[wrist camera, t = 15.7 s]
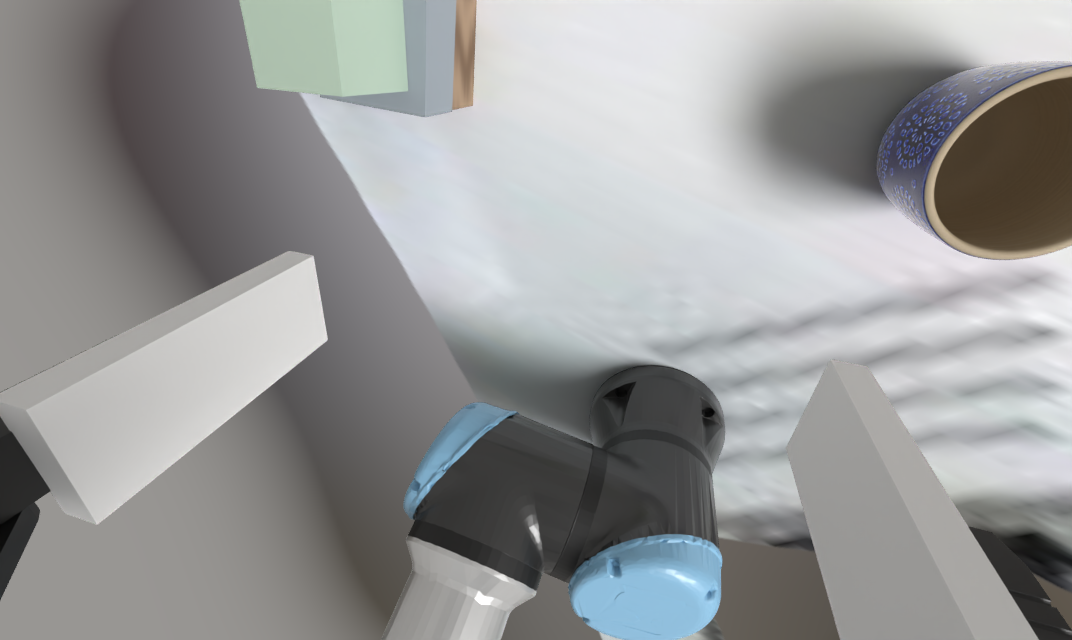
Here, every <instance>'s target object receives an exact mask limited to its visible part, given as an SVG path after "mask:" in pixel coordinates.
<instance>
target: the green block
mask: <svg viewBox="0 0 1072 640" xmlns="http://www.w3.org/2000/svg"><path fill="white" fill-rule="evenodd" d="M239 1H240V5H241V11H242V15H243V20H244V26H245V30H246V35H247V40H248V45H249V50H250V54H251V60H252V64H253V70H254V75H255V79H256V83H257V88H264V89H274V90H283V91H292V92H302V93H312V94H321V95H331V96H340V97H345V96H357V95H369V94H381V93H393V92H405V91H408V78H407V61H406V45H405V28H404V12H403V0H239Z"/></svg>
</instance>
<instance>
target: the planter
mask: <svg viewBox="0 0 1072 640" xmlns="http://www.w3.org/2000/svg"><path fill="white" fill-rule="evenodd" d="M877 175H878V180H879V183H880V185H881V188H882V190H883V192H884V194H885V195H886V197H887V198H888V199H889V201H890V202H891V203H892V204H893V205H894V206H895V207H896V208H897V209H898V210H899V211H900V212H901V213H902V214H903V215H904V216H905V217H907V218H908V219H909V220H911V221H912V222H913V223H915V224H916V225H917V226H918V227H920V228H921V229H923V230H924V231H925V232H927V233H928V234H930V235H931V236H933V237H935V238H936V239H938V240H939V241H941V242H942V243H944V244H946V245H948V246H949V247H951V248H953V249H955V250H957V251H959V252H962V253H964V254H967V255H970V256H974V257H978V258H984V259H993V260H1015V259H1024V258H1031V257H1036V256H1041V255H1045V254H1048V253H1052V252H1055V251H1058V250H1061V249H1064V248H1066V247H1069V246H1072V62H1068V61H1041V62H1015V63H1005V64H996V65H990V66H984V67H978V68H974V69H970V70H966V71H963V72H960V73H957V74H955V75H952V76H950V77H948V78H945V79H943V80H941V81H939V82H937V83H935V84H933V85H932V86H930V87H928V88H927V89H925V90H924V91H922V92H921V93H920V94H918V95H917V96H916V97H914V98H913V99H912V100H911V101H910V102H909V103H908V104H907V105H906V106H905V107H904V108H903V109H902V110H901V111H900V112H899V113H898V114H897V115H896V117H895V118H894V119H893V121H892V122H891V124H890V125H889V127H888V128H887V130H886V132H885V134H884V136H883V138H882V141H881V143H880V146H879V150H878V155H877Z"/></svg>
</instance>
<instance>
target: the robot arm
mask: <svg viewBox="0 0 1072 640" xmlns="http://www.w3.org/2000/svg"><path fill="white" fill-rule="evenodd" d="M327 340H328V339H327V333H326V327H325V321H324V315H323V309H322V303H321V297H320V292H319V286H318V280H317V274H316V268H315V262H314V257H313V256H312V255H307V254H302V253H297V252H292V251H288V252H286V253H284V254H282V255H280V256H278V257H276V258H274V259H272V260H269V261H267V262H265V263H263V264H261V265H259V266H257V267H255V268H253V269H251V270H250V271H247V272H245V273H243V274H241V275H239V276H237V277H235V278H233V279H231V280H229V281H227V282H225V283H223V284H221V285H219V286H217V287H215V288H213V289H210V290H208V291H206V292H204V293H202V294H200V295H198V296H196V297H194V298H192V299H190V300H188V301H186V302H184V303H182V304H180V305H178V306H176V307H174V308H172V309H170V310H168V311H166V312H164V313H162V314H159V315H157V316H156V317H153V318H151V319H149V320H147V321H145V322H143V323H141V324H139V325H137V326H135V327H133V328H131V329H129V330H127V331H125V332H123V333H121V334H118V335H116V336H114V337H112V338H110V339H108V340H106V341H104V342H102V343H100V344H98V345H96V346H94V347H92V348H90V349H88V350H85V351H83V352H81V353H79V354H77V355H75V356H74V357H71V358H70V359H68V360H66V361H63V362H61V363H59V364H57V365H55V366H53V367H51V368H49V369H47V370H45V371H43V372H41V373H39V374H37V375H34V376H33V377H31V378H28V379H27V380H24V381H22V382H20V383H18V384H16V385H14V386H12V387H10V388H8V389H6V390H4V391H2V392H0V600H1V597H2V595H3V593H4V591H5V589H6V587H7V585H8V583H9V580H10V579H11V576H12V574H13V572H14V570H15V568H16V566H17V564H18V562H19V559H20V557H21V555H22V553H23V551H24V549H25V547H26V545H27V543H28V541H29V539H30V536H31V534H32V532H33V530H34V528H35V526H36V523H37V522H38V519H39V513H40V510H39V508H38V507H37V505H36V504H35V501H37V500H38V499H39V498H41V497H42V496H44V495H45V494H47V493H48V492H51V493H52V495H53V496H54V498H55V499H56V501H57V503H58V504H59V506H60V507H61V509H62V510H63V512H64V513H65V514H68V515H71V516H74V517H77V518H80V519H83V520H85V521H88V522H91V523H94V524H97V525H98V524H99V523H100V522H101V521H103V520H104V519H105V518H106V517H108V516H109V515H110V514H111V513H113V512H114V511H115V510H116V509H118V508H119V507H120V506H121V505H122V504H124V503H125V502H126V501H128V500H129V499H130V498H131V497H133V496H134V495H135V494H136V493H137V492H139V491H140V490H141V489H142V488H144V487H145V486H146V485H148V484H149V483H150V482H151V481H152V480H154V479H155V478H156V477H157V476H158V475H160V474H161V473H162V472H164V471H165V470H166V469H167V468H169V467H170V466H171V465H172V464H174V463H175V462H176V461H177V460H179V459H180V458H181V457H182V456H184V455H185V454H186V453H187V452H189V451H190V450H191V449H192V448H194V447H195V446H196V445H197V444H199V443H200V442H201V441H202V440H204V439H205V438H206V437H207V436H209V435H210V434H211V433H212V432H214V431H215V430H216V429H217V428H219V427H220V426H221V425H222V424H224V423H225V422H226V421H227V420H229V419H230V418H231V417H232V416H234V415H235V414H236V413H237V412H238V411H240V410H241V409H242V408H244V407H245V406H246V405H247V404H249V403H250V402H251V401H252V400H253V399H255V398H256V397H257V396H259V395H260V394H261V393H262V392H263V391H265V390H266V389H267V388H269V387H270V386H271V385H272V384H274V383H275V382H276V381H277V380H279V378H281V377H282V376H284V375H285V374H286V373H287V372H289V371H290V370H291V369H292V368H293V367H295V366H296V365H297V364H299V363H300V362H301V361H302V360H304V359H305V358H306V357H307V356H308V355H310V354H311V353H312V352H314V351H315V350H316V349H317V348H318V347H320V346H321V345H322V344H323V343H324V342H326V341H327ZM590 432H591V436H592V441H593V444H590V443H588V442H585V441H583V440H580V439H578V438H575V437H573V436H570V435H568V434H565V433H563V432H560V431H558V430H555V429H553V428H550V427H548V426H545V425H543V424H540V423H538V422H535V421H533V420H531V419H528V418H526V417H523V416H521V415H519V413H518V412H516V411H508V410H504V409H501V408H498V407H495V406H492V405H489V404H487V403H483V402H476V403H471V404H469V405H467V406H465V407H464V408H462V409H461V410H460V411H458V412H457V413H456V414H455V415H454V416H453V417H452V418H451V419H450V421H449V422H448V423H447V424H446V425H445V427H444V428H443V429H442V431H441V432H440V433H439V435H438V436H437V437H436V439H435V440H434V442H433V443H432V445H431V446H430V448H429V449H428V451H427V453H426V454H425V456H424V458H423V459H422V461H421V463H420V465H419V467H418V468H417V471H416V473H415V475H414V477H415V478H414V479H413V481H412V483H411V485H410V486H409V488H408V490H407V493H406V495H405V499H404V505H403V506H404V510H405V512H406V513H407V514H408V516H409V518H410V519H413V520H415V522H414V524H413V526H412V528H411V530H410V532H409V534H408V536H407V539H406V542H407V545H408V549H409V552H410V556H411V559H412V572H411V574H410V576H409V579H408V581H407V583H406V585H405V587H404V589H403V592H402V594H401V596H400V598H399V601H398V603H397V605H396V607H395V609H394V612H393V614H392V616H391V618H390V621H389V623H388V625H387V627H386V629H385V632H384V634H383V636H382V638H381V640H501V637H502V634H503V631H504V628H505V625H506V622H507V619H508V616H509V613H510V612H511V611H512V610H513V609H514V608H515V607H516V606H518V605H520V604H522V603H523V602H525V601H527V600H529V599H530V598H532V597H534V596H535V594H536V592H537V588H538V585H539V582H540V579H541V576H542V574H543V573H545V574H548V575H550V576H553V577H555V578H558V579H560V580H562V581H564V582H566V583H569V586H568V588H569V595H570V602H571V605H572V607H573V610H574V611H575V613H576V614H577V615H578V616H579V617H582V618H583V621H585V623H586V624H587V625H589V626H590V627H592V628H593V629H595V630H597V631H599V632H601V633H604V634H606V635H609V636H612V637H615V638H619V639H623V640H677V639H680V638H684V637H687V636H689V635H692V634H694V633H696V632H698V631H699V630H701V629H702V628H703V627H705V626H706V625H707V624H708V623H709V622H710V621H711V620H712V619H713V617H714V616H715V614H716V612H717V610H718V607H719V604H720V599H721V568H722V556H721V553H720V551H719V541H718V531H717V521H716V510H715V500H714V490H713V480H712V473H713V471H714V468H715V466H716V463H717V460H718V458H719V455H720V453H721V450H722V447H723V445H724V440H725V424H724V416H723V411H722V408H721V405H720V403H719V401H718V399H717V398H716V396H715V395H714V394H713V392H712V391H711V390H710V389H709V388H708V387H707V386H706V385H705V384H703V383H702V382H701V381H699V380H698V379H696V378H695V377H693V376H691V375H689V374H687V373H685V372H682V371H679V370H676V369H672V368H667V367H661V366H642V367H636V368H631V369H628V370H625V371H622V372H620V373H618V374H616V375H614V376H613V377H611V378H610V379H608V380H607V381H606V382H605V383H604V384H603V385H602V386H601V387H600V389H599V390H598V392H597V393H596V395H595V397H594V400H593V404H592V408H591V413H590ZM786 450H787V453H788V457H789V461H790V464H791V468H792V471H793V475H794V478H795V482H796V485H797V489H798V492H799V496H800V499H801V503H802V506H803V510H804V513H805V517H806V520H807V524H808V528H809V531H810V535H811V538H812V542H813V545H814V549H815V552H816V556H817V559H818V563H819V566H820V570H821V573H822V576H823V580H824V584H825V587H826V591H827V594H828V598H829V601H830V605H831V609H832V612H833V616H834V619H835V623H836V626H837V629H838V633H839V636H840V640H1072V630H1071V628H1070V627H1069V626H1068V624H1067V623H1066V621H1065V620H1064V618H1063V617H1062V616H1061V614H1060V613H1059V611H1058V610H1057V608H1054V607H1051V604H1050V602H1051V600H1050V598H1049V597H1048V595H1047V594H1046V593H1045V591H1044V590H1043V588H1042V587H1041V585H1040V584H1039V582H1038V581H1037V580H1036V578H1035V577H1034V575H1033V574H1032V572H1031V571H1030V569H1029V568H1028V567H1027V565H1026V564H1025V563H1024V562H1023V561H1022V560H1021V559H1019V558H1018V557H1017V556H1016V555H1015V554H1014V553H1013V552H1012V551H1011V550H1010V549H1009V548H1008V547H1007V546H1006V545H1005V544H1004V543H1002V542H1001V541H1000V540H999V539H998V538H997V537H996V536H995V535H994V534H993V533H992V532H989V531H985V530H981V529H977V528H973V527H969V526H967V524H966V523H965V521H964V519H963V518H962V516H961V515H960V513H959V511H958V510H957V508H956V507H955V505H954V503H953V502H952V500H951V499H950V497H949V495H948V494H947V492H946V491H945V489H944V487H943V486H942V484H941V483H940V481H939V479H938V478H937V476H936V475H935V473H934V472H933V470H932V468H931V467H930V465H929V464H928V462H927V460H926V459H925V457H924V456H923V454H922V452H921V451H920V449H919V448H918V446H917V444H916V443H915V441H914V440H913V438H912V436H911V435H910V433H909V432H908V430H907V428H906V427H905V425H904V424H903V422H902V420H901V419H900V417H899V416H898V414H897V412H896V411H895V409H894V408H893V406H892V404H891V403H890V401H889V400H888V398H887V396H886V395H885V393H884V392H883V390H882V389H881V387H880V385H879V384H878V382H877V381H876V379H875V377H874V376H873V374H872V373H871V371H870V369H869V368H868V367H867V366H862V365H857V364H852V363H847V362H842V361H837V360H832V359H830V360H829V362H828V364H827V367H826V369H825V371H824V373H823V375H822V377H821V379H820V381H819V383H818V385H817V387H816V389H815V391H814V393H813V395H812V397H811V399H810V401H809V403H808V405H807V407H806V409H805V411H804V413H803V415H802V417H801V419H800V421H799V423H798V425H797V427H796V429H795V431H794V433H793V435H792V437H791V439H790V441H789V443H788V445H787V447H786Z"/></svg>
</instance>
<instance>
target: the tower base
mask: <svg viewBox="0 0 1072 640" xmlns="http://www.w3.org/2000/svg"><path fill="white" fill-rule="evenodd" d="M475 28H476V0H456V24H455V50H454V77H453V103H452V110H455V109H459V108H464V107H468V106H473V86H474V57H475Z"/></svg>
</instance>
